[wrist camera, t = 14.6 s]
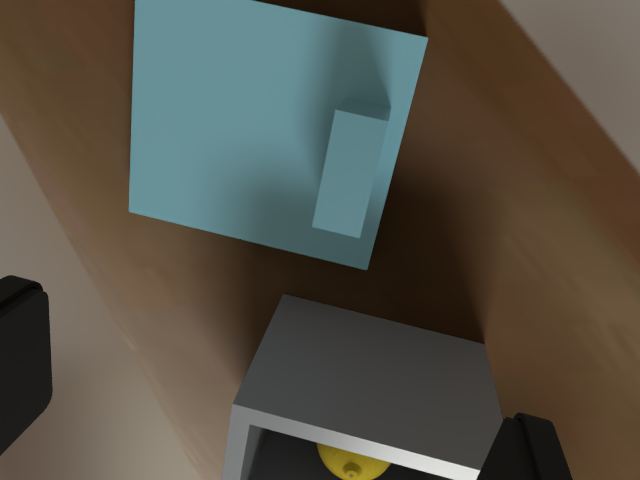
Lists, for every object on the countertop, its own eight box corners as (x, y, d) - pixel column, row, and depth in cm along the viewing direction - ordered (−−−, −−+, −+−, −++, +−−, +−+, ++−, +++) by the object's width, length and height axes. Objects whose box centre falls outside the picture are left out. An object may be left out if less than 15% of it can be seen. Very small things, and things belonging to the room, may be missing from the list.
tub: (484, 344, 33) (517, 480, 23) (434, 468, 38) (443, 624, 28) (283, 293, 34) (232, 403, 24) (259, 421, 39) (209, 556, 29)
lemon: (326, 350, 36) (305, 434, 28) (404, 358, 35) (403, 447, 28) (324, 410, 38) (305, 502, 31) (398, 419, 37) (396, 516, 30)
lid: (426, 37, 27) (432, 40, 21) (369, 256, 32) (361, 303, 27) (153, -22, 28) (91, -33, 22) (144, 201, 33) (92, 236, 28)
